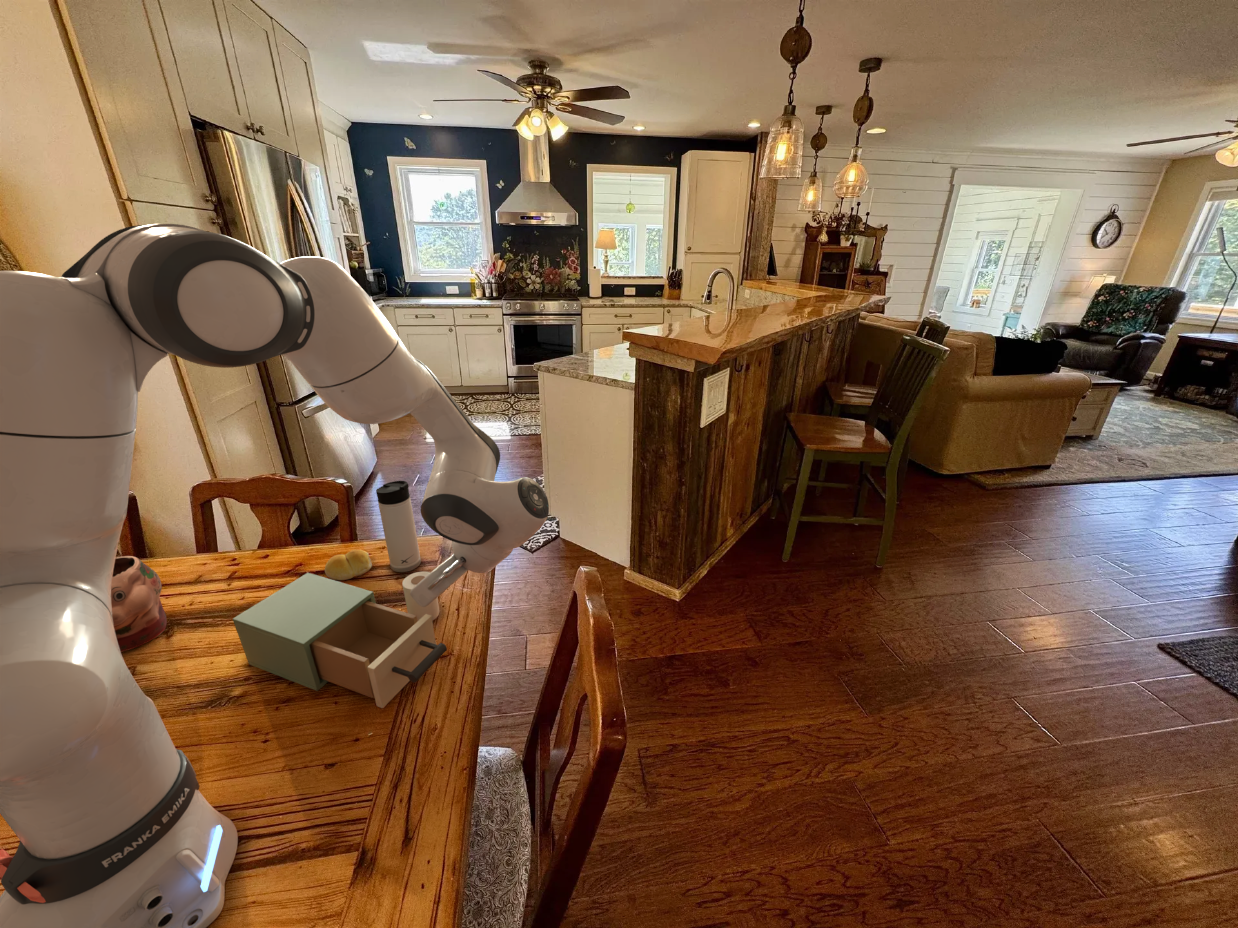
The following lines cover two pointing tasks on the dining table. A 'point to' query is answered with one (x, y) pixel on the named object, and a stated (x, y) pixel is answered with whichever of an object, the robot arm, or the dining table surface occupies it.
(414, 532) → the travel mug
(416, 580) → the paper towel roll
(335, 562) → the bread roll
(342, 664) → the drawer
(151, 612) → the decorative planter
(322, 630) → the cabinet
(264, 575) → the dining table surface
